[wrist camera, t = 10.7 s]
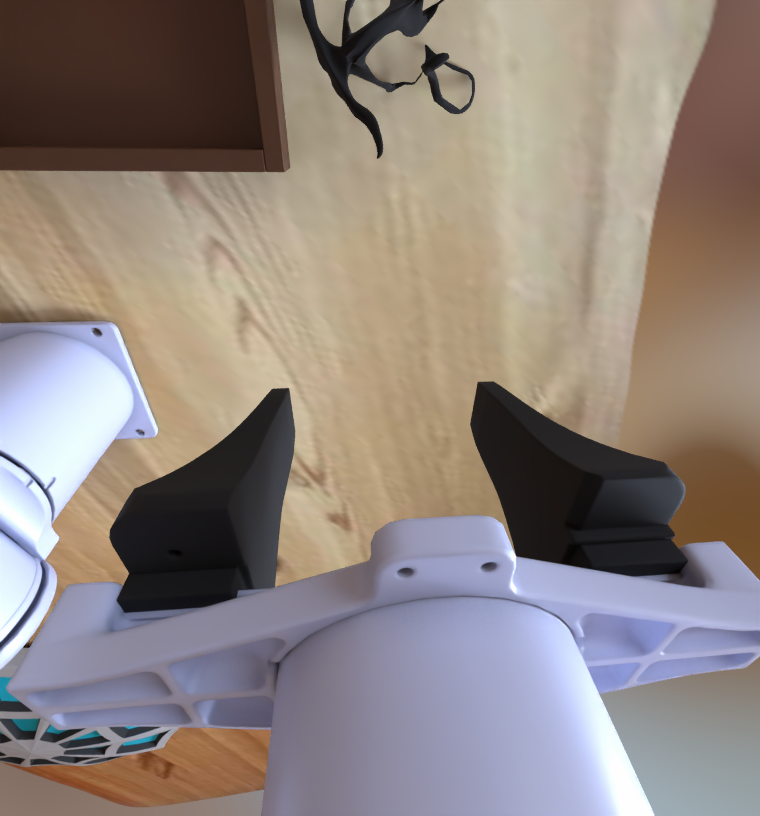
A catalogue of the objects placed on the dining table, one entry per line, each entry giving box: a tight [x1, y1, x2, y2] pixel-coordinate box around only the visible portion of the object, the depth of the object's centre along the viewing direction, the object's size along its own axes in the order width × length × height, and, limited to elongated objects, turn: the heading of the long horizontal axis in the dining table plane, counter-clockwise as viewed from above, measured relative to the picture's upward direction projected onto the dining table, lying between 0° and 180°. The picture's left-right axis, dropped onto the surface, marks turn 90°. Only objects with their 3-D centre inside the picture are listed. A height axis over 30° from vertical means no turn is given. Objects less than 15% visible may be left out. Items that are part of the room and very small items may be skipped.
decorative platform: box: [0, 648, 180, 767], centre depth 46 cm, size 31×29×5 cm
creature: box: [300, 0, 475, 159], centre depth 14 cm, size 8×5×8 cm
